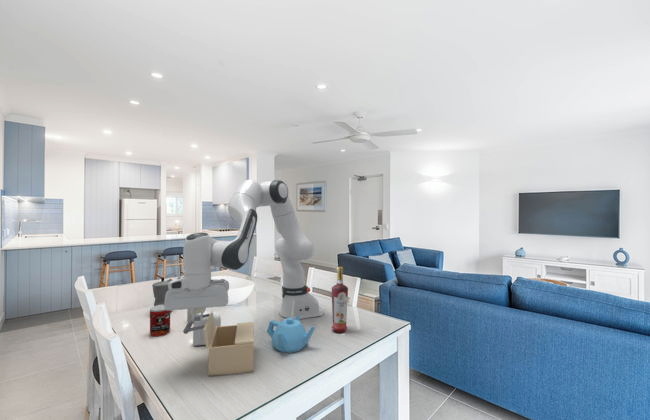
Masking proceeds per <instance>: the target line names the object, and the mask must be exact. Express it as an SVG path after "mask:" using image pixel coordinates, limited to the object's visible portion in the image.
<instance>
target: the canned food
mask: <svg viewBox="0 0 650 420" xmlns="http://www.w3.org/2000/svg"><path fill="white" fill-rule="evenodd" d="M170 331H171V313H170V310H168V311H167V310H166V309H165V308H164V305H157V306H154V305H153V306H151V307H150V308H149V335H150V336H152V337H162V336H165V335H168V333H170Z"/></svg>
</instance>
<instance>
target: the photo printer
mask: <svg viewBox="0 0 650 420" xmlns="http://www.w3.org/2000/svg"><path fill="white" fill-rule="evenodd" d="M210 312H211V311H205V312H204V313H203V315H205V314H210ZM199 314H201V313H199ZM196 315H198V314H196ZM213 317H214V323H215V327H218V326H222V325H221V324H222V319H221V313H219V312H215V311H213ZM207 319H208V317H204V318H202V321H194V322H193V324H192V328H193V327H197V326H202V325H205V324H206V322H207ZM203 329H204V328H203ZM203 329H199V330H194V331H192V345H193V346H194V347H195V346H197V347H198V346H206V343H205V338H204V332H203ZM214 330H215V329H214ZM213 334H214V332H213ZM212 337H213V335H212ZM211 340H212V338H211ZM210 343H211V342H210Z"/></svg>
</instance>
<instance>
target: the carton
mask: <svg viewBox="0 0 650 420" xmlns="http://www.w3.org/2000/svg"><path fill="white" fill-rule="evenodd" d="M254 365H255V323H254V322H253V321H252V322H251V321H250V322H248V321H247V322H237V324H232V325H221V326H218V327H215V330H214V334H213V337H212V340H211V343H210V345H209V348H208V377H217V376H225V375H233V374H241V373H250V372H251V373H252V372H255V369H254V368H255V367H254Z"/></svg>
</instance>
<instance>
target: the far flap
mask: <svg viewBox="0 0 650 420" xmlns="http://www.w3.org/2000/svg"><path fill="white" fill-rule="evenodd" d="M209 312H210V314H205V315H202V318H204V317H208V319H207V322H206V324H205V325H202V326H197V327H193V322H194V321H193V317H191V318H190V320H189V322H188V321H187V324H186V326H185V328H184V329H183V331H182V332H183V334H185V335H186V334H188V333H190V332H193V331H194V330H199V329H203V328H204V329H203V332H204V338H205V343H206V345H205V348H206V349H209V346H210V342H211V338H212V335H213V332H214V329H215V323H214V317H213V312H214V311H209Z"/></svg>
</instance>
